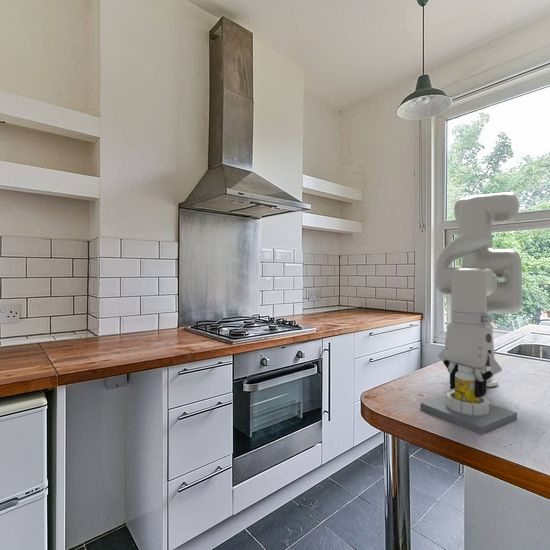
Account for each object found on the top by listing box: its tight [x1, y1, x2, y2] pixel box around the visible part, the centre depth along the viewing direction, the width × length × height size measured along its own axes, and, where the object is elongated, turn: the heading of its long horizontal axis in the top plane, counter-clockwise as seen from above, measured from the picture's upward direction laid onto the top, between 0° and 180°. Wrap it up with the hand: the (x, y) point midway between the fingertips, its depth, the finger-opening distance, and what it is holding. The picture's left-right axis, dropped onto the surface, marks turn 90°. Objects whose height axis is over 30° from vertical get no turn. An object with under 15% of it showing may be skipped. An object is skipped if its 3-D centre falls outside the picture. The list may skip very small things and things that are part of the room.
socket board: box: [419, 390, 518, 435], centre depth 82 cm, size 15×15×4 cm
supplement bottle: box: [454, 364, 480, 403], centre depth 82 cm, size 5×5×10 cm
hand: (467, 391), depth 82 cm, fingers closed on supplement bottle, 5 cm apart
